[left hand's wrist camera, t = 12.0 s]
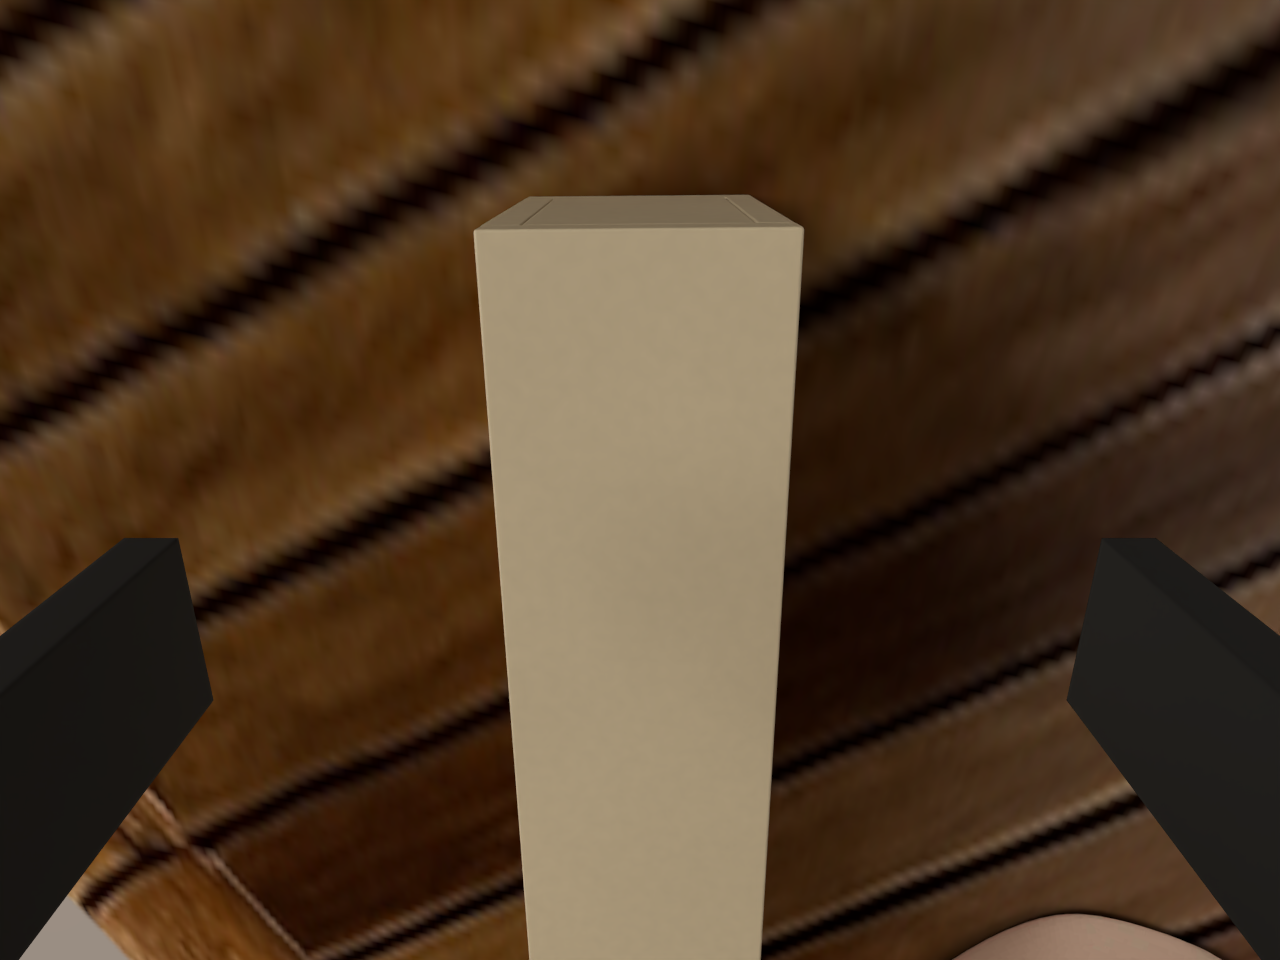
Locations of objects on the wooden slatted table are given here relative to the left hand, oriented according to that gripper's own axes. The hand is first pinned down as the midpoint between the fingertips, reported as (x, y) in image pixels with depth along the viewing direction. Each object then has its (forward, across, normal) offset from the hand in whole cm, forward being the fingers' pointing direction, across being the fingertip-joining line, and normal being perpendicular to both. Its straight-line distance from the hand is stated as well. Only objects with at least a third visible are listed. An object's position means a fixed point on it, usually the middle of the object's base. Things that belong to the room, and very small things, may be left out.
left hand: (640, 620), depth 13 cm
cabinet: (+17, 0, -6) cm, 18 cm away
